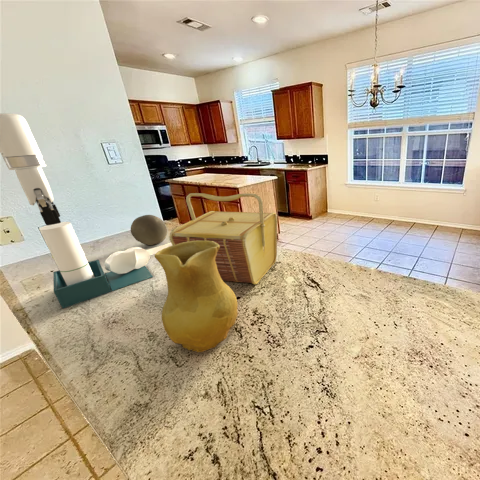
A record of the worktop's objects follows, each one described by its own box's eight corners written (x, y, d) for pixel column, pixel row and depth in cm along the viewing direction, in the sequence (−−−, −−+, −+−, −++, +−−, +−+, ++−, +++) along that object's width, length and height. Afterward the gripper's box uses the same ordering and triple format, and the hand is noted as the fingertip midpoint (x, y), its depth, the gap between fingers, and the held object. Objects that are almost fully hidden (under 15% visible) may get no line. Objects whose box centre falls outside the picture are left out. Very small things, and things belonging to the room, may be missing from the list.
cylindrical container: (97, 286, 95) (68, 220, 85) (102, 292, 91) (72, 224, 81) (71, 295, 90) (37, 227, 80) (76, 302, 86) (40, 231, 76)
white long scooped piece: (199, 247, 129) (193, 246, 130) (197, 232, 126) (191, 231, 128) (113, 278, 96) (107, 276, 97) (108, 257, 93) (102, 255, 95)
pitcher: (152, 360, 61) (124, 263, 53) (198, 312, 79) (182, 233, 70) (221, 367, 59) (203, 267, 50) (252, 317, 76) (243, 235, 68)
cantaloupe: (144, 241, 134) (135, 212, 128) (174, 238, 136) (166, 210, 130) (131, 252, 121) (120, 222, 115) (164, 249, 123) (155, 218, 118)
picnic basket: (180, 286, 92) (155, 202, 80) (222, 254, 115) (207, 185, 103) (256, 294, 85) (241, 204, 73) (284, 258, 108) (276, 185, 96)
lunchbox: (63, 310, 82) (53, 291, 80) (62, 288, 94) (53, 271, 92) (153, 278, 98) (147, 261, 96) (142, 263, 110) (137, 248, 107)
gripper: (10, 163, 77) (38, 218, 84) (2, 166, 65) (35, 230, 72) (45, 159, 82) (68, 212, 88) (43, 162, 70) (71, 223, 76)
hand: (53, 220), depth 80 cm, fingers open, 9 cm apart
